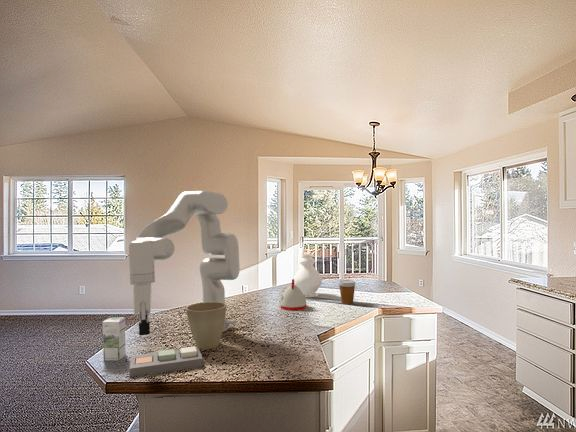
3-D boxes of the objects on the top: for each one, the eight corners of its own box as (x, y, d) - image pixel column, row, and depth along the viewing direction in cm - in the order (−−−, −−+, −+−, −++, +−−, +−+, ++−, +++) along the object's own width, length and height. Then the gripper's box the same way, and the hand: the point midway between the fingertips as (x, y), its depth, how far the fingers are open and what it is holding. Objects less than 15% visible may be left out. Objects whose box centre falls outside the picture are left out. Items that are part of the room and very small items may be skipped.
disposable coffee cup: (357, 304, 210) (356, 282, 210) (339, 305, 210) (339, 283, 210) (354, 300, 220) (354, 279, 220) (337, 301, 220) (337, 280, 220)
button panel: (198, 356, 136) (198, 346, 136) (202, 369, 125) (202, 358, 125) (132, 366, 129) (131, 355, 129) (129, 380, 118) (129, 368, 118)
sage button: (174, 356, 130) (174, 349, 130) (175, 361, 126) (174, 353, 126) (158, 358, 129) (158, 351, 129) (158, 363, 124) (158, 356, 124)
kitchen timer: (307, 304, 214) (306, 277, 214) (305, 310, 200) (305, 281, 200) (282, 304, 215) (281, 277, 215) (279, 310, 201) (278, 281, 202)
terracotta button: (152, 363, 128) (152, 356, 128) (152, 369, 123) (152, 361, 123) (136, 366, 126) (136, 358, 126) (135, 371, 122) (135, 363, 122)
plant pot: (210, 339, 156) (209, 300, 156) (235, 346, 146) (234, 304, 146) (178, 349, 144) (177, 307, 144) (204, 358, 135) (203, 312, 135)
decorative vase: (327, 293, 241) (326, 254, 241) (313, 299, 226) (312, 256, 226) (302, 291, 251) (301, 253, 251) (288, 296, 236) (287, 255, 236)
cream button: (195, 353, 133) (195, 346, 133) (196, 358, 128) (196, 351, 128) (180, 355, 131) (180, 348, 131) (181, 360, 126) (181, 353, 126)
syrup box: (126, 357, 138) (125, 316, 138) (119, 363, 132) (118, 321, 132) (110, 357, 138) (109, 317, 138) (102, 363, 132) (101, 321, 132)
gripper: (131, 275, 131) (133, 329, 131) (128, 283, 117) (130, 343, 117) (154, 273, 133) (156, 326, 134) (154, 281, 119) (156, 339, 120)
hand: (144, 334), depth 125 cm, fingers closed
